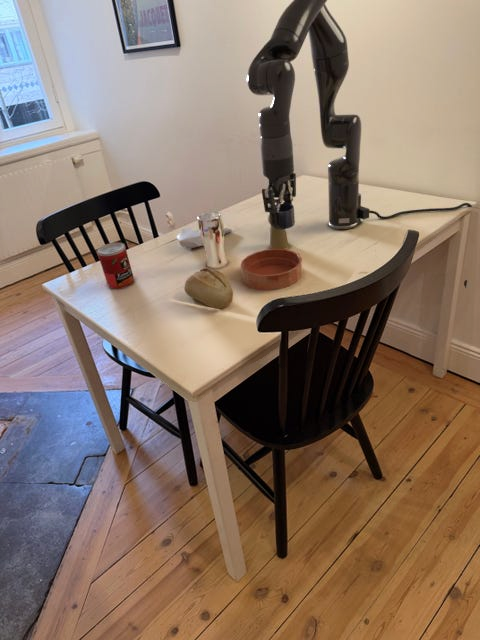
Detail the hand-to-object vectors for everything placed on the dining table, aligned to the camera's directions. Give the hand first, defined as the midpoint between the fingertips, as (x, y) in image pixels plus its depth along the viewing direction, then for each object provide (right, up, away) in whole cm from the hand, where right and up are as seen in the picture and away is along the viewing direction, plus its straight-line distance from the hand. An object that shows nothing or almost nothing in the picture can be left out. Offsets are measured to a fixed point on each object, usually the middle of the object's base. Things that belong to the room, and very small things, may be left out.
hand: (282, 220), depth 120 cm
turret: (-23, 0, +35) cm, 41 cm away
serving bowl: (-2, -14, +7) cm, 16 cm away
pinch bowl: (0, -1, +1) cm, 1 cm away
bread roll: (-19, -21, 0) cm, 28 cm away
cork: (+1, -4, +23) cm, 23 cm away
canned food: (-45, -15, +15) cm, 50 cm away
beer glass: (-18, -9, +18) cm, 27 cm away
